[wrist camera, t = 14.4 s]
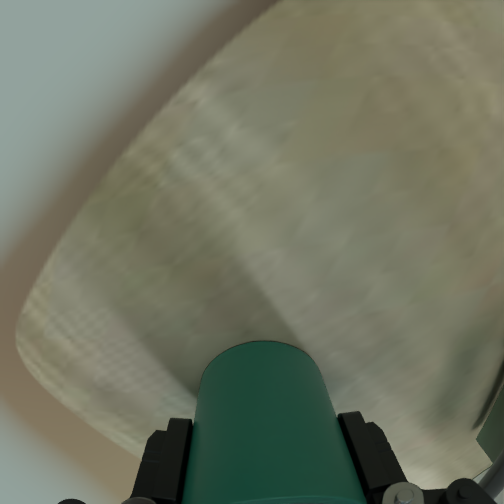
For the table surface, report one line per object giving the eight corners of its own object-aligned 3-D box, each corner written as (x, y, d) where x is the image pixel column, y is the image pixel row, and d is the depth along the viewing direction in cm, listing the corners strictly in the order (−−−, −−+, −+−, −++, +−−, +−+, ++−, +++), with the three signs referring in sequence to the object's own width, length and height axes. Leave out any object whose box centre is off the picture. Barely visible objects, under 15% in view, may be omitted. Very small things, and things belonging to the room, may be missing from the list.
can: (185, 412, 13) (159, 550, 6) (226, 322, 11) (212, 488, 4) (288, 440, 13) (308, 566, 6) (343, 361, 12) (410, 500, 5)
